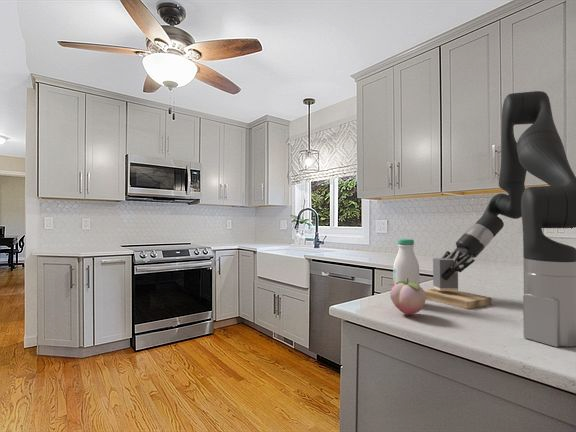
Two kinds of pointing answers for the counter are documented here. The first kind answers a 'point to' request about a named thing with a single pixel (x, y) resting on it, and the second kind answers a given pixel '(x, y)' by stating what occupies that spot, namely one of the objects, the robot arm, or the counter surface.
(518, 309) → the counter surface
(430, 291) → the oak board
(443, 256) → the robot arm
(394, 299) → the decorative fruit
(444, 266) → the block
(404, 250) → the milk bottle
